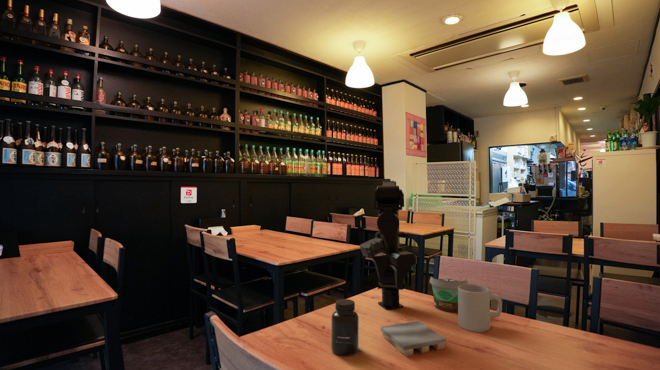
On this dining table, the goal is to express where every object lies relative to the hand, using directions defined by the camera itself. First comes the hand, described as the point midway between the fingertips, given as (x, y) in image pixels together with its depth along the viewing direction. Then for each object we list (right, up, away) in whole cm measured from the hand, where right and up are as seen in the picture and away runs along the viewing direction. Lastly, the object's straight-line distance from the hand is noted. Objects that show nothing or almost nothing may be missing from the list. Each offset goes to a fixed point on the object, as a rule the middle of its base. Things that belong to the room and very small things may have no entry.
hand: (389, 283), depth 96 cm
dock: (+4, -13, -9) cm, 16 cm away
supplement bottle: (-13, -13, -12) cm, 22 cm away
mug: (+26, -13, +1) cm, 30 cm away
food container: (+22, -13, +14) cm, 29 cm away
